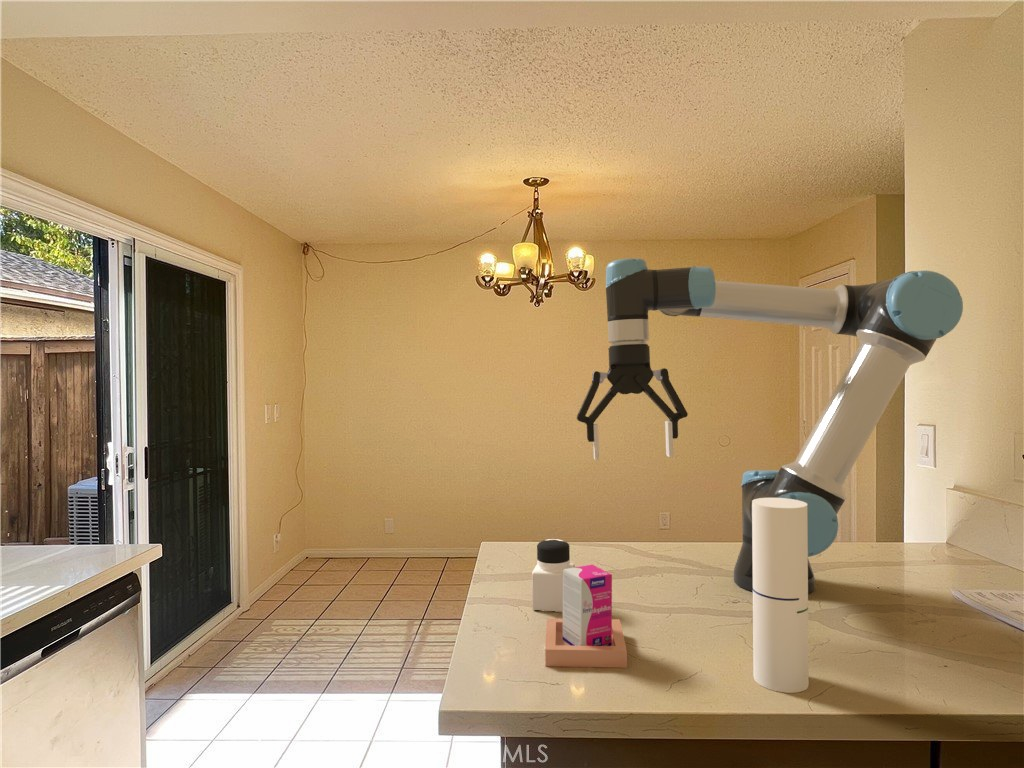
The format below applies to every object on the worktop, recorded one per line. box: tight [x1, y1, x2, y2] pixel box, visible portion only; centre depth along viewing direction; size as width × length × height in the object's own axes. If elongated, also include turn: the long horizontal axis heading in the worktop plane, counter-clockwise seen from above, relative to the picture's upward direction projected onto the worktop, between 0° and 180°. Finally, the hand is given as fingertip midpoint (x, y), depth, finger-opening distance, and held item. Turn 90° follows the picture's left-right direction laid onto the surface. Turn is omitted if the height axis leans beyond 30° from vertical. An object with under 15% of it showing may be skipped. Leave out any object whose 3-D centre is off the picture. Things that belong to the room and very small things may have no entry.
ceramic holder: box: [544, 618, 628, 669], centre depth 102 cm, size 12×12×2 cm
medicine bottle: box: [531, 538, 575, 613], centre depth 121 cm, size 7×7×12 cm
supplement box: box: [562, 564, 613, 646], centre depth 102 cm, size 6×6×12 cm
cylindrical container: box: [752, 498, 810, 694], centre depth 91 cm, size 7×7×25 cm
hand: (633, 458), depth 121 cm, fingers open, 13 cm apart
